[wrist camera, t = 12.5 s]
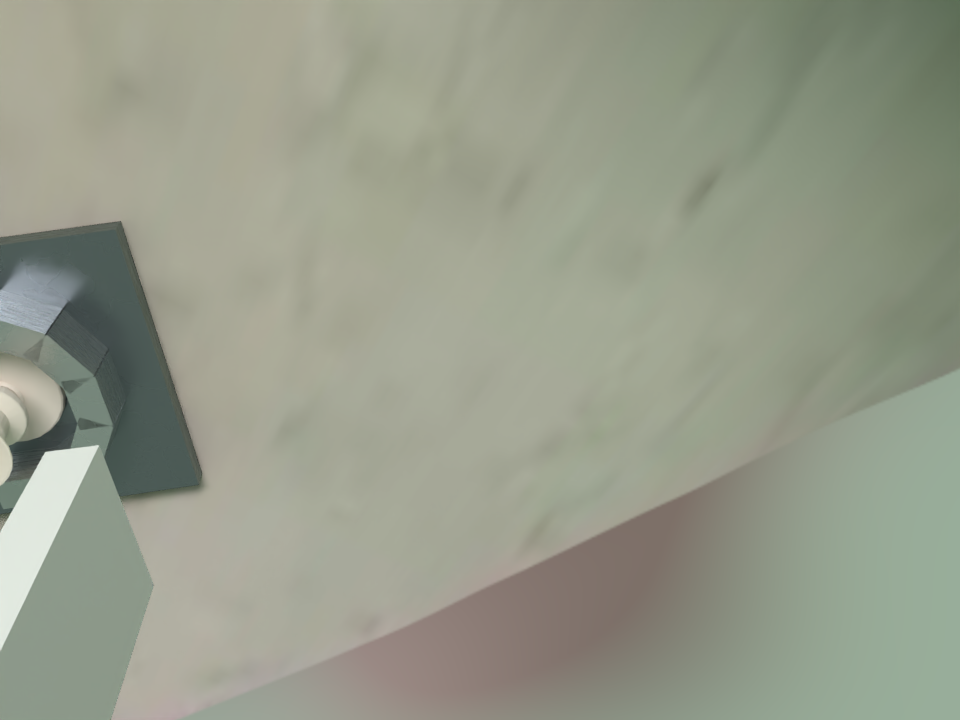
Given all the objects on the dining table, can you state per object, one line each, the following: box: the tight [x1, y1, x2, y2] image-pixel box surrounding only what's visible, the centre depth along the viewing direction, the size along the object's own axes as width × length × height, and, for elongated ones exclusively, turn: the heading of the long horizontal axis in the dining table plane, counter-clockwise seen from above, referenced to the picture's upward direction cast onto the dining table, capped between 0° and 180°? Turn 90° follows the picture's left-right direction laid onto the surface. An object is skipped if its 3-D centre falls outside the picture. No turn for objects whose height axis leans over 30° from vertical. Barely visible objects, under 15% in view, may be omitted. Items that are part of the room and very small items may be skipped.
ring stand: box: [0, 221, 202, 514], centre depth 42 cm, size 14×14×4 cm
